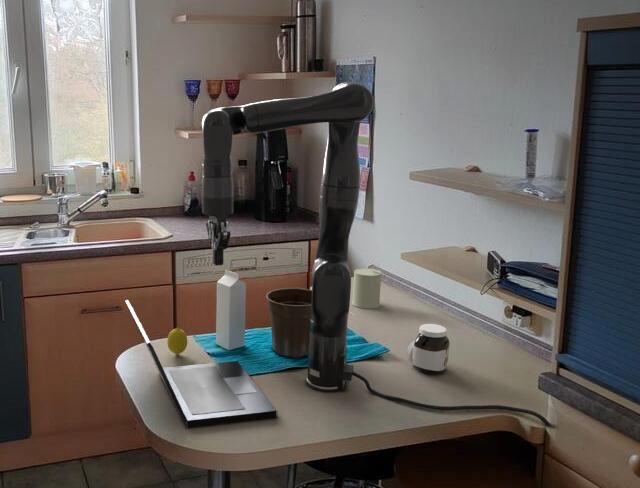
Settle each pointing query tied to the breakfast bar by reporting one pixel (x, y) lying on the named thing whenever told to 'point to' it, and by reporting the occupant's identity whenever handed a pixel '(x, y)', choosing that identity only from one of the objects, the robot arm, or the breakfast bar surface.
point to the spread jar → (430, 349)
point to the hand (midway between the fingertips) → (218, 264)
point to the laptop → (218, 394)
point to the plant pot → (290, 320)
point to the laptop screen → (156, 362)
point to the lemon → (177, 341)
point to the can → (366, 288)
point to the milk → (230, 311)
